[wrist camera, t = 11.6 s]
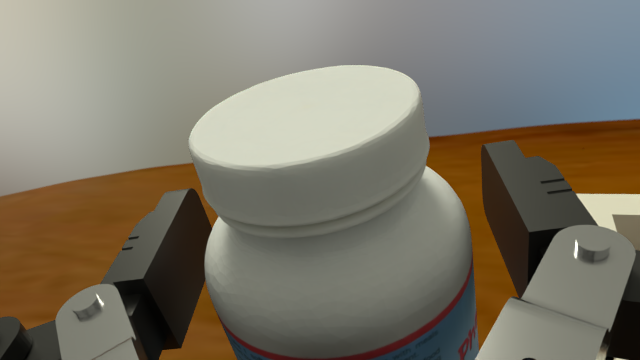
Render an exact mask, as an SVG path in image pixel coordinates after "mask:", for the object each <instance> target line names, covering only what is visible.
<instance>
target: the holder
mask: <svg viewBox="0 0 640 360" xmlns="http://www.w3.org/2000/svg"><path fill="white" fill-rule="evenodd" d="M576 195H577V196H578V198H579V199H580V201H581V202H582V203H583V205H584V206H585V208H586V209H587V210H588V212H589V213H590V215H591V216H592V217H593V219H594V220H595V221H596V223H597V224H598V226H601V227H605V228H608V229H611V230H614V231H616V232H618V233H620V234H621V235H623V236H624V237H626V238H627V239H628V240H629V241H630V242H631V243H632V245H633V246H634V249H635V250H639V251H640V194H576ZM616 360H625V359H619V358H616Z"/></svg>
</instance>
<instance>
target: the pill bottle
mask: <svg viewBox="0 0 640 360" xmlns="http://www.w3.org/2000/svg"><path fill="white" fill-rule="evenodd" d="M429 147H430V146H429V138H428V134H427V132H426V129H425V122H424V111H423V103H422V97H421V93H420V90H419V88H418V86H417V84H416V83H415V82H414V81H413V80H412V79H411V78H409V77H408V76H407V75H405V74H403V73H401V72H398V71H395V70H392V69H388V68H382V67H377V66H364V65H342V66H333V67H326V68H319V69H313V70H308V71H303V72H298V73H293V74H289V75H286V76H282V77H279V78H276V79H272V80H269V81H267V82H263V83H260V84H257V85H255V86H253V87H251V88H248V89H246V90H244V91H242V92H239V93H237V94H235V95H233V96H231V97H229V98H228V99H226V100H224V101H223V102H221V103H219V104H218V105H216V106H215V107H213V108H212V109H211V110H209V111H208V112H207V113H206V114H205V115H204V116H203V117H202V118H201V119H200V120H199V121H198V122H197V123H196V125H195V126H194V128H193V130H192V132H191V134H190V137H189V150H190V154H191V157H192V160H193V163H194V165H195V168H196V171H197V174H198V176H199V179H200V182H201V184H202V190H203V194H204V197H205V199H206V200H207V202H208V203H209V205H210V206H211V207H212V208H213V209H214V210H215V212H216V213H217V215H218V216H219V217H218V219H217V221H216V223H215V224H214V226H213V229H212V231H211V234H210V236H209V239H208V242H207V247H206V253H205V264H204V267H205V278H206V284H207V288H208V291H209V294H210V297H211V300H212V302H213V305H214V307H215V310H216V312H217V314H218V317H219V319H220V321H221V324H222V326H223V328H224V330H225V332H226V335H227V337H228V339H229V341H230V344H231V346H232V348H233V350H234V353H235V355H236V357H237V359H238V360H475V359H476V357H477V355H478V353H479V349H478V333H477V313H476V301H475V286H474V270H473V253H472V242H471V232H470V226H469V222H468V218H467V215H466V212H465V210H464V207H463V205H462V203H461V201H460V199H459V198H458V196H457V195H456V193H455V192H454V190H453V189H452V188H451V187H450V185H449V184H448V183H447V182H446V181H445V180H444V179H443V178H442V177H440V176H439V175H438V174H437V173H436V172H434V171H433V170H431V169H430V168H428V167H427V166H426V158H427V155H428V152H429Z"/></svg>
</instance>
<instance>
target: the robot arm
mask: <svg viewBox="0 0 640 360" xmlns="http://www.w3.org/2000/svg"><path fill="white" fill-rule="evenodd" d="M481 162H482V193H483V204H484V209H485V214H486V217H487V220H488V222H489V225H490V227H491V230H492V232H493V235H494V237H495V240H496V242H497V245H498V247H499V249H500V252H501V254H502V257H503V259H504V262H505V264H506V267H507V269H508V272H509V274H510V276H511V279H512V281H513V284H514V286H515V289H516V291H517V294H518V296H519V298H517V297H514V296H513V297H511V298H510V299H509V300H508V301H507V303H506V304H505V306H504V308H503V310H502V311H501V313H500V315H499V317H498V319H497V321H496V322H495V324H494V326H493V328H492V330H491V331H490V333H489V335H488V337H487V339H486V340H485V342H484V344H483V346H482V348H481V349H480V351H479V353H478V355H477V357H476V359H475V360H616V358H619V359H625V360H640V251H639V250H635V249H634V246H633V245H632V243H631V242H630V241H629V240H628V239H627V238H626V237H624V236H623V235H621V234H620V233H618V232H616V231H614V230H611V229H608V228H605V227H601V226H598V224H597V223H596V221H595V220H594V219H593V217H592V216H591V215H590V213H589V212H588V210H587V209H586V208H585V206H584V205H583V203H582V202H581V201H580V199H579V198H578V196H577V195H576V194H575V192H574V191H572V188H571V187H570V185H569V184H568V183H567V181H565V180H564V177H563V176H562V174H561V173H560V171H559V170H558V169H557V167H556V166H555V165H553V164H552V163H550V162H548V161H546V160H545V159H543V158H541V157H539V156H536V157H529V158H525V157H524V155H523V154H522V152H521V151H520V149H519V147H518V146H517V144H516V143H515V141H513V140H510V141H504V142H497V143H491V144H484V145H482V149H481ZM211 231H212V227H211V225H210V222H209V220H208V217H207V215H206V213H205V210H204V208H203V205H202V203H201V200H200V198H199V196H198V194H197V192H196V191H195V190H194V189H192V188H190V189H184V190H177V191H170V192H166V193H165V194H164V195H163V196H162V198H161V200H160V202H159V203H158V205H157V207H156V208H155V210H154V212H150V213H149V214H148V215H146V216H145V217H144V218H143V219H142V220H141V221H140V222H139V223H138V224H136V226H135V228H134V229H133V231H132V233H131V234H130V236H129V237H128V238H129V240H127V241H126V242H125V244H124V246H123V247H122V251H120V252H119V254H118V256H117V257H116V259H115V260H114V262H113V264H112V265H111V267H110V269H109V270H108V272H107V274H106V275H105V277H104V278H103V280H102V282H101V283H100V284H99V285H95V286H92V287H89V288H87V289H84V290H82V291H81V292H79V293H77V294H76V295H74V296H73V297H72V298H70V299H69V300H68V301H67V302H66V303H65V304H64V305H63V306H62V307H61V309H60V310H59V312H58V314H57V316H56V320H54V321H51V322H48V323H45V324H42V325H40V326H37V327H34V328H31V329H28V330H26V329H25V328H24V327H23V325H22V324H21V323H20V321H19V320H18V319H17V318H14V317H2V318H0V360H159V357H160V354H161V352H162V350H168V349H178V348H181V347H182V344H183V341H184V338H185V335H186V333H187V330H188V327H189V324H190V321H191V318H192V316H193V313H194V310H195V307H196V304H197V302H198V299H199V296H200V293H201V290H202V287H203V285H204V282H205V279H206V278H205V267H204V264H205V253H206V247H207V242H208V239H209V236H210V234H211Z"/></svg>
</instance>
